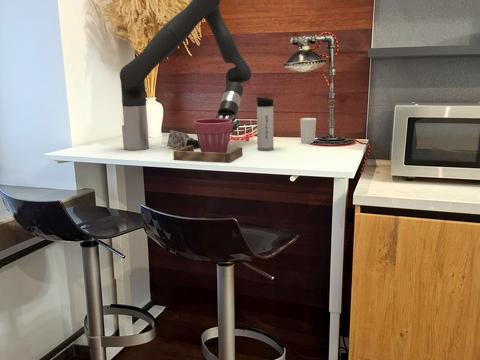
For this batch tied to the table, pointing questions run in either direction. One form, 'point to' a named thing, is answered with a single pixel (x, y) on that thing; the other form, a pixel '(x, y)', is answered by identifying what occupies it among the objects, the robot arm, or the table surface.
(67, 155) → the table surface
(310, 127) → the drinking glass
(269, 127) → the travel mug
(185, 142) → the caster wheel
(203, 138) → the plant pot
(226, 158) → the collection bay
